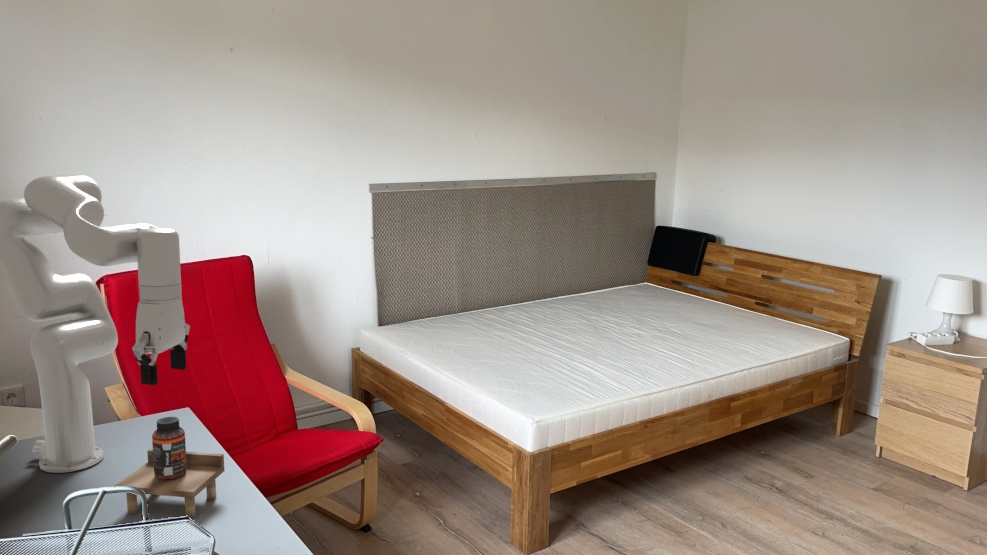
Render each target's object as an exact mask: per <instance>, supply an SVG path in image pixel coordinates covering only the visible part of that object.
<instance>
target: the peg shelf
mask: <svg viewBox="0 0 987 555" xmlns="http://www.w3.org/2000/svg"><path fill="white" fill-rule="evenodd" d="M146 452H147V462H146V463H144V464H143V465H141V466H140V467H139V468H138V469H136V470H135V471H132V472H131V473H130V474H129V475H128V476H126V477H124V478H123V479H121V481H119V482H118V483H116V484H115V485H114V487H115V486H133V487H137V488H139V489H141V490H143V491H144V492H145V494H144V495H152V496H165V497H178V498H184V509H185V510H184V512H185V516H186V515H188V516H189V517H190V518H192V519H195V518H196V516H197V515H196V514H197V513H196V497H197V496H198V495H199V494H200V493H201V492H202V491H203V490H205V488H206V491H205V492H206V499H207V500H209V501H210V500H211V501H212V500H215V499H216V498H217V485H216V481H217V480H216V479H217V478H218V477H220V475H222V474H223V473H224V472H225V456H224V455H225V454H223V453H210V452H196V451H186V459H187V460H186V463H187V471H186V473H185V474H184V475H183V476H181V477H179V478H176V479H171V480H162V479H158V478H156V477H155V475H154V461H153V448H149V449H148V450H147V451H146ZM125 495H126V509H127V514H128V515H133V514H137V513H138V512H139V508H138V507H139V506H138V505H139V504H138V494H137V495H135V494H132V493H126V492H125ZM192 519H191V520H192Z"/></svg>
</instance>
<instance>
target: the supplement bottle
mask: <svg viewBox="0 0 987 555" xmlns="http://www.w3.org/2000/svg"><path fill="white" fill-rule="evenodd" d="M151 438H152V443H151V444H152V449H153V461H154V475H155V477H156V478H158V479H162V480H171V479H176V478H179V477H181V476H183V475H184V474H185V473H186V471H187V463H186V460H187V459H186V452H187V451H186V450H187V448H186V432H185V429H184V428H183V427H181V426H180V419H179V417H177V416H165V417H161V418H158V419H157V421H156V429H155V431H153V433H152V436H151Z"/></svg>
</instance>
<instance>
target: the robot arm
mask: <svg viewBox="0 0 987 555" xmlns="http://www.w3.org/2000/svg"><path fill="white" fill-rule="evenodd" d="M102 196H103V195H102V191H101V188H100V186H99V185H98V183H97V182H96V181H95V180H94V179H93V178H91V177H89V176H87V175H84V174H65V175H64V174H63V175H45V176H44V175H43V176H40V177H37V178H35V179H33V180H31V181H30V182H29V183H28V184H26V186H25V188H24V191H23V196H12V197H5V198H0V266H1V268H2V269H3V272H4V273H5V276H6V278H7V280H8V283H9V285H10V288H11V289H12V292H13V295H14V297H15V299H16V301H17V304H18V306H19V307H20V310H21V312H22V314H23V315H24V317H26V319H28V320H29V321H31V322H37V323H38V322H45V321H46V322H47V321H52V320H57V319H61V318H62V319H63V318H67V317H71V316H74V318H75V319H69V320H64V321H60V322H56V323H51V324H48V325H46V326H43V327H41V328H39V329H38V330H36V331H35V332H34V333H33V334H32V336H31V338H30V340H29V341H30V342H29V349H30V350H29V351H30V353H31V358H32V360H33V363H34V366H35V370H36V374H37V379H38V386H39V394H40V401H41V413H42V424H43V433H44V439H43V440H40V439H37V440H36V441H35V442H34V443H33V444H34V445H33V447H32V448H31V452H32V453H38V454H39V453H41V456H42V457H41V458H40V459H39V461H38V465H39V469H40V470H42V471H43V472H46V473H52V474H54V473H55V474H56V473H57V474H62V473H63V474H64V473H70V472H71V473H72V472H76V471H77V472H78V471H80V470H84V469H87V468H90V467H92V466H94V465H97V464H98V463H100V461H102V460H103V459H104V450H103V449H102V448H101V447H98V446H96V443H95V439H96V438H95V430H94V429H95V428H94V418H93V417H94V416H93V407H92V405H93V404H92V394H91V387H90V386H91V385H90V381H89V379H88V377H87V375H85V374H84V373H83V371H82V370H80V368H79V367H78V364H80V363H84V362H87V361H91V360H94V359H98V358H101V357H104V356H107V355H109V354H112V353H113V352H114V351H115V349H116V348H117V346H118V342H119V338H118V337H119V336H118V331H117V328H116V325H115V323H114V321H113V318H112V316H111V314H110V312H109V309H108V306H107V304H106V303H105V301H104V298H103V296H102V293H101V290H100V289H99V287H98V285H97V284H96V282H95V281H94V280H93V279H92V278H91V277H90V276H89V275H87V274H85V273H82V272H68V273H67V272H66V273H62V274H61V273H60V274H57V273H55V272H54V270H53V269H52V267H51V264H50V262H49V260H48V257H47V256H46V254H45V253H43V251H42V250H40V248H38V247H37V246H36V245H35V244H33V243H32V242H30V241H29V240H26V238H25V237H28V236H37V235H46V234H47V235H48V234H56V233H62V232H63V237H64V240H65V242H66V244H67V247H68V248H69V249H70V251H71V252H72V253H73V254H75V255H77V257H79V258H81V259H83V260H85V261H86V262H88V263H90V264H92V265H95V266H99V267H112V266H118V265H123V264H125V265H126V264H129V263H137V275H138V276H137V278H138V294H139V296H138V297H139V301H138V303H137V308H136V318H135V344H134V345H133V346H132V348H131V349H132V351H133V354H134V359H135V360H136V361H137V365H139V367H140V383H141V384H142V385H148V386H157V385H159V379H158V378H159V376H158V364H155V363H156V361H157V359H158V357H159V356H158V355H159V354H161V353H164V352H166V351H168V350H169V359H170V360H169V362H170V368H171V369H172V370H181V371H184V370H187V352H186V350H187V349H188V345H187V344H188V341H189V334H190V329H191V325H189V324H188V323H186V320H185V319H186V318H185V310H184V306H183V299H182V298H183V296H182V294H183V293H182V279H181V278H182V276H181V251H180V250H181V249H180V235H179V232H177V230H175V229H173V228H167V227H158V226H155V225H154V224H151V223H147V222H136V223H129V224H128V223H126V224H117V225H109V226H101V225H102V223H103V221H104V216H105V211H104V206H103V204H102V201H103V200H102V199H103V198H102ZM148 354H149V355H151V356H150V357H149V356H148Z"/></svg>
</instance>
